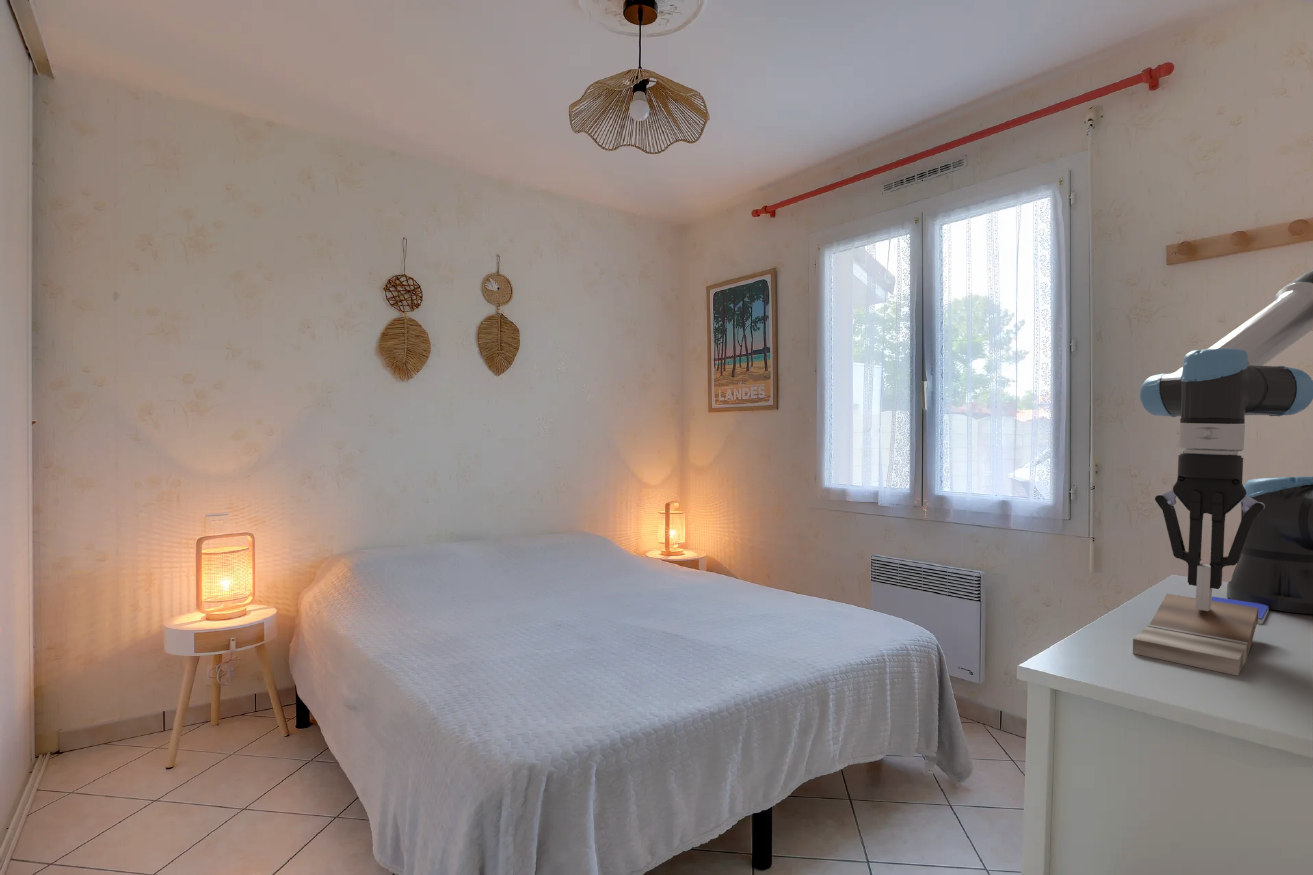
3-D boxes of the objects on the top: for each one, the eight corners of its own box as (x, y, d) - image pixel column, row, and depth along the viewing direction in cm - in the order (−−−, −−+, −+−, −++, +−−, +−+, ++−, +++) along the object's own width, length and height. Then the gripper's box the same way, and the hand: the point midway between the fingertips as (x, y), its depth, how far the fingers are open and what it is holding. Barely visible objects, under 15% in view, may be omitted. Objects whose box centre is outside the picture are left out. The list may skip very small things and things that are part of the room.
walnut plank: (1247, 655, 91) (1248, 642, 91) (1149, 636, 99) (1149, 624, 99) (1258, 619, 100) (1258, 607, 100) (1167, 604, 108) (1166, 593, 108)
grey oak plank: (1238, 675, 84) (1238, 658, 84) (1132, 653, 92) (1133, 637, 92) (1247, 657, 91) (1247, 642, 91) (1148, 638, 99) (1148, 624, 99)
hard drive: (1262, 617, 108) (1268, 604, 117) (1197, 606, 114) (1208, 595, 122) (1262, 627, 108) (1268, 613, 117) (1197, 615, 114) (1208, 603, 122)
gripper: (1151, 450, 103) (1145, 603, 103) (1266, 455, 93) (1258, 623, 94) (1161, 450, 108) (1155, 595, 108) (1271, 454, 98) (1264, 613, 99)
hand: (1203, 608), depth 101 cm, fingers closed
